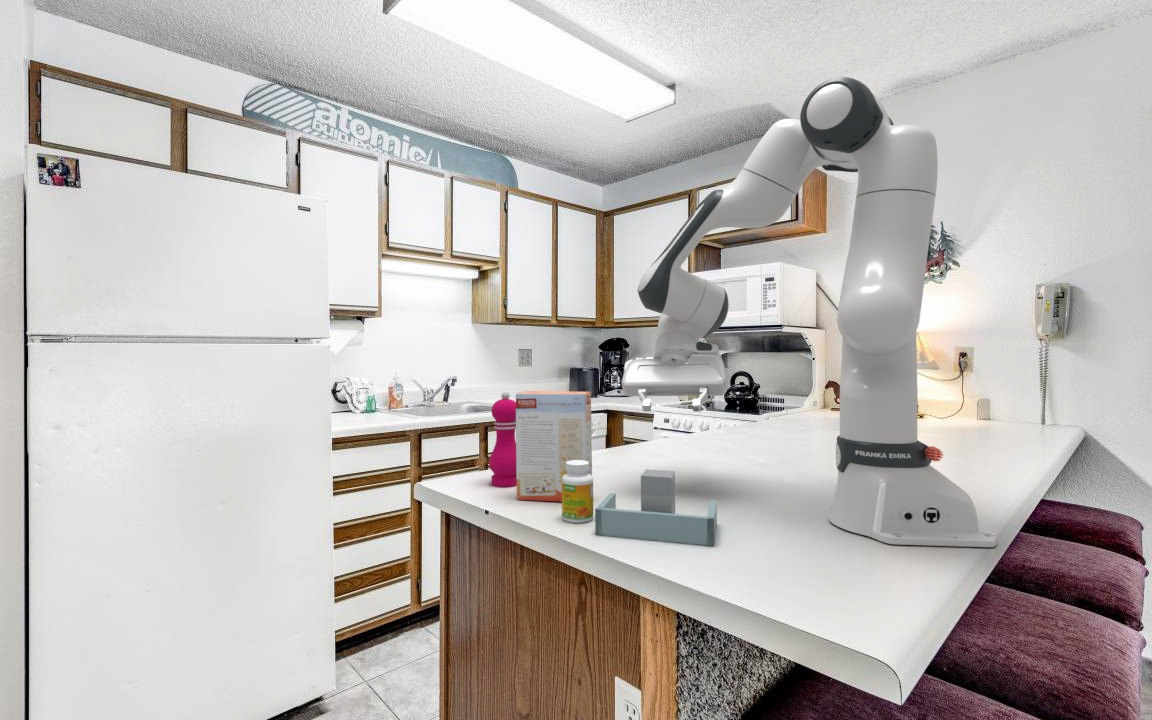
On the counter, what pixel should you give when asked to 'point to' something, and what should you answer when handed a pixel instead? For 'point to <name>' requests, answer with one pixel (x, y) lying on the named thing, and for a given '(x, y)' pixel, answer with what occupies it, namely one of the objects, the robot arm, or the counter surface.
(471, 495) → the counter surface
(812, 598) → the counter surface
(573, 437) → the cracker box
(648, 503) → the tile stack
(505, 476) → the pepper mill
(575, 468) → the supplement bottle
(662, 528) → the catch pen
